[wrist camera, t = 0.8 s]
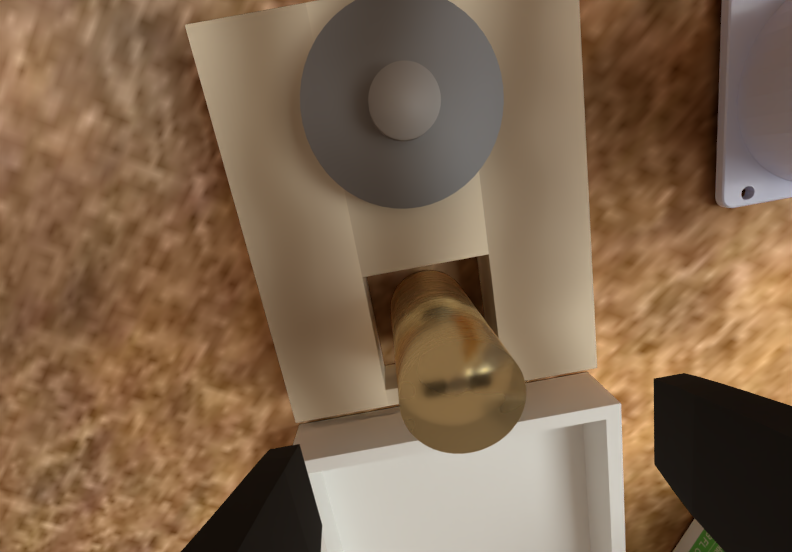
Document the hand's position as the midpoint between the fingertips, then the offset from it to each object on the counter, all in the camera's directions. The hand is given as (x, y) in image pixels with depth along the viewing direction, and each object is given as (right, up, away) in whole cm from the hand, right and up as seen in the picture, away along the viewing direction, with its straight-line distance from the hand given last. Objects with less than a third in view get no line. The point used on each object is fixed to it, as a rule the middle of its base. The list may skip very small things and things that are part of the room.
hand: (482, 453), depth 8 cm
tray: (+2, -8, +11) cm, 14 cm away
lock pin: (0, +2, +9) cm, 9 cm away
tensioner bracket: (-1, +6, +8) cm, 10 cm away
